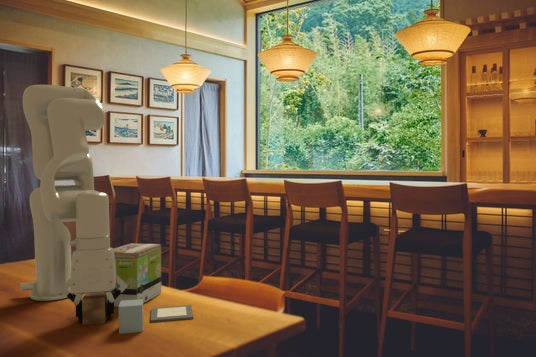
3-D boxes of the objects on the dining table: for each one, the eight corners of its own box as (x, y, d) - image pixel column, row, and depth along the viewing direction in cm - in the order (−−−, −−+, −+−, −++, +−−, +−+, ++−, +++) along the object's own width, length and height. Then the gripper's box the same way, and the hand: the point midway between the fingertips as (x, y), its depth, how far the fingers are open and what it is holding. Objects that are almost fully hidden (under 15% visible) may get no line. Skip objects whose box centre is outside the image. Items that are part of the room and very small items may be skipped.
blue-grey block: (119, 333, 106) (118, 306, 105) (121, 326, 110) (120, 300, 110) (142, 331, 107) (142, 305, 106) (143, 324, 112) (143, 299, 111)
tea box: (138, 308, 124) (137, 252, 124) (103, 307, 126) (101, 251, 126) (162, 293, 139) (161, 242, 138) (130, 292, 141) (129, 242, 140)
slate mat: (150, 322, 113) (150, 319, 113) (151, 309, 123) (151, 307, 123) (193, 318, 115) (193, 316, 115) (191, 306, 125) (191, 304, 125)
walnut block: (82, 324, 112) (82, 299, 112) (86, 318, 117) (85, 293, 117) (105, 323, 113) (104, 297, 113) (107, 316, 118) (107, 292, 118)
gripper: (51, 248, 109) (53, 326, 110) (129, 244, 113) (131, 320, 113) (58, 243, 116) (60, 316, 117) (131, 239, 120) (133, 311, 120)
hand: (95, 317), depth 115 cm, fingers open, 5 cm apart
